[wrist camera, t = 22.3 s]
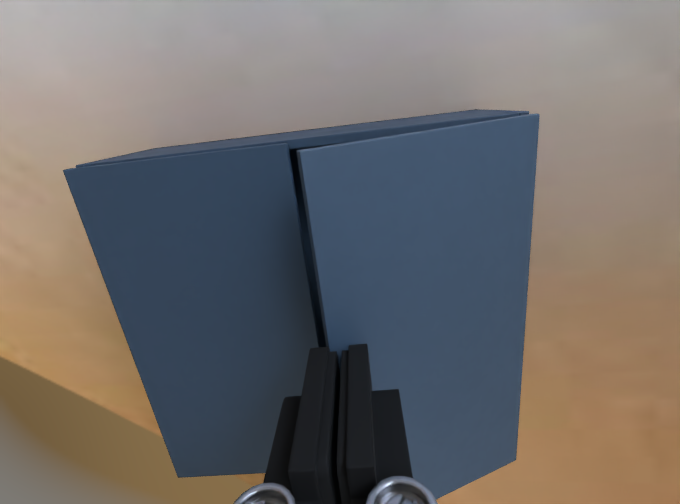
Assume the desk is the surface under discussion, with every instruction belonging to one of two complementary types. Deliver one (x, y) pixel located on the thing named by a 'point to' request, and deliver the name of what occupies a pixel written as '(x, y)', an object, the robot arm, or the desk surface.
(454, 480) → the flap
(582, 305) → the desk surface
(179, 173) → the carton
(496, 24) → the desk surface
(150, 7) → the desk surface
